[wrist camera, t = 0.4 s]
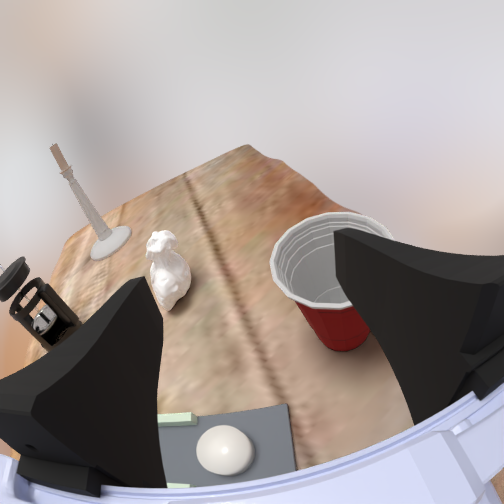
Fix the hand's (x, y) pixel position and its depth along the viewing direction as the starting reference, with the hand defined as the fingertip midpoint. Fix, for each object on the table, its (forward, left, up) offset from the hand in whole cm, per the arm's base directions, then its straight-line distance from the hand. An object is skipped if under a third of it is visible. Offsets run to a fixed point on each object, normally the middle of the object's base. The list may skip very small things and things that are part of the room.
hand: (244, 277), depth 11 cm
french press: (+19, +41, -21) cm, 50 cm away
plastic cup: (+10, -5, -21) cm, 23 cm away
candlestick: (+49, +41, -21) cm, 67 cm away
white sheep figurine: (+25, +17, -21) cm, 37 cm away
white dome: (-2, +8, -20) cm, 22 cm away
